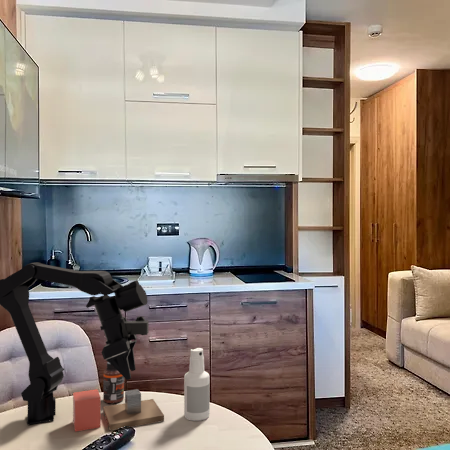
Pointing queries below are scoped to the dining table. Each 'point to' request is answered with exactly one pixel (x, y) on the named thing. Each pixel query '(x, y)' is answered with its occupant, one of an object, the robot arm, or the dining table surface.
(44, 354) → the robot arm
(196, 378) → the spray bottle
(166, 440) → the dining table surface
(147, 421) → the board
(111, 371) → the supplement bottle
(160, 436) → the dining table surface
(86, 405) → the salmon foam cube
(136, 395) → the post
